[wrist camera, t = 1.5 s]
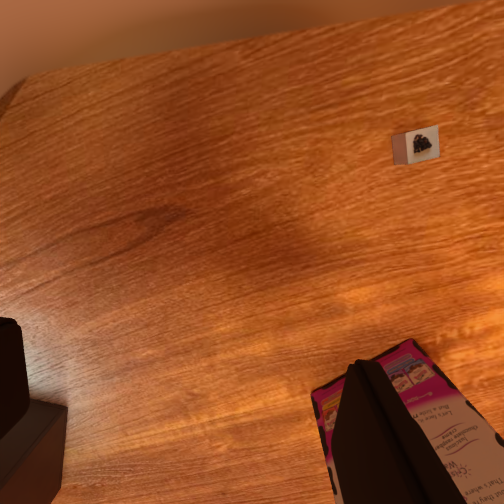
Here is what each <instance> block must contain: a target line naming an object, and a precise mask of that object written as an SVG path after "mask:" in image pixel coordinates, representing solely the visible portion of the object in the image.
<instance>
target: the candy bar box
mask: <svg viewBox="0 0 504 504" xmlns="http://www.w3.org/2000/svg"><path fill="white" fill-rule="evenodd" d="M371 361H377V362H379V363H380V364H381V366H382V367H383V369H384V371H385V372H386V374H387V376H388V377H389V379H390V381H391V382H392V384H393V386H394V387H395V389H396V391H397V392H398V394H399V396H400V397H401V399H402V401H403V402H404V404H405V406H406V408H407V409H408V411H409V413H410V414H411V416H412V418H413V419H415V420H416V421H417V423H418V424H419V425H420V427H421V428H422V430H423V432H424V433H425V435H426V436H427V438H428V440H429V441H430V443H431V445H432V446H433V448H434V450H435V451H436V453H437V455H438V456H439V458H440V460H441V461H442V463H443V464H444V466H445V468H446V469H447V471H448V473H449V474H450V476H451V478H452V479H453V481H454V483H455V484H456V486H457V488H458V489H459V491H460V493H461V494H462V496H463V497H464V499H465V501H466V502H467V504H504V440H503V439H502V437H501V436H500V435H499V434H498V433H497V432H496V431H495V430H494V429H493V428H492V426H491V425H490V424H489V423H488V422H487V421H486V420H485V418H484V417H483V416H482V415H481V414H480V413H479V412H478V411H477V410H476V408H475V407H474V406H473V405H472V404H471V403H470V402H469V401H468V400H467V399H466V398H465V396H464V395H463V394H462V393H461V392H460V391H459V390H458V389H457V387H456V386H455V385H454V384H453V383H452V382H451V381H450V379H449V378H448V377H447V376H446V375H445V374H444V373H443V372H442V371H441V369H440V368H439V367H438V366H437V365H436V364H435V363H434V362H433V361H432V360H431V359H430V357H429V356H428V355H427V354H426V353H425V351H424V350H423V349H422V348H421V347H420V346H419V345H418V344H417V343H416V342H415V341H414V340H413V339H409V340H407V341H405V342H403V343H402V344H400V345H398V346H396V347H394V348H393V349H391V350H389V351H387V352H385V353H384V354H382V355H380V356H378V357H376V358H375V359H373V360H371ZM345 377H346V375H344V376H343V377H341V378H339V379H337V380H336V381H334V382H332V383H330V384H328V385H327V386H325V387H323V388H321V389H319V390H317V391H316V392H314V393H312V394H311V399H312V404H313V409H314V413H315V417H316V421H317V426H318V430H319V434H320V438H321V443H322V447H323V451H324V455H325V461H326V465H327V469H328V472H329V477H330V481H331V485H332V489H333V494H334V499H335V503H336V504H344V503H343V499H342V495H341V490H340V486H339V482H338V478H337V473H336V469H335V465H334V461H333V457H332V452H331V438H332V433H333V429H334V424H335V420H336V416H337V412H338V407H339V403H340V399H341V394H342V390H343V386H344V382H345Z"/></svg>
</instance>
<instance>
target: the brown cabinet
mask: <svg viewBox="0 0 504 504" xmlns="http://www.w3.org/2000/svg"><path fill="white" fill-rule="evenodd" d="M67 411H68V407H65V406H61V405H56V404H52V403H47V402H43V401H38V400H34V399H30V406H29V409H28V411H27V412H26V414H25V415H24V416H23V418H22V419H21V420H20V421H19V422H18V423H17V424H16V425H15V426H14V427H13V428H12V429H11V430H10V431H9V432H8V433H7V434H6V435H5V436H4V437H3V438H2V439H1V440H0V504H51V502H52V501H53V499H54V498H55V496H56V494H57V493H58V491H59V490H60V488H61V477H62V466H63V455H64V444H65V433H66V422H67Z"/></svg>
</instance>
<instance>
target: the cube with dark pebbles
mask: <svg viewBox="0 0 504 504" xmlns="http://www.w3.org/2000/svg"><path fill="white" fill-rule="evenodd" d="M391 137H392V146H393V156H394V165H401V164H412V163H416V162H420V161H424V160H428V159H433V158H437V157H440V151H439V138H438V125H435V126H430V127H426V128H422V129H418V130H414V131H410V132H406V133H402V134H398V135H394V136H391Z"/></svg>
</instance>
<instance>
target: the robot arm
mask: <svg viewBox="0 0 504 504" xmlns="http://www.w3.org/2000/svg"><path fill="white" fill-rule="evenodd" d="M29 406H30V395H29V387H28V379H27V371H26V362H25V354H24V346H23V338H22V330H21V327H20V326H19V325H18V324H17V322H16V321H15V319H12V318H6V317H0V440H1V439H2V438H3V437H4V436H5V435H6V434H7V433H8V432H9V431H10V430H11V429H12V428H13V427H14V426H15V425H16V424H17V423H18V422H19V421H20V420H21V419H22V418H23V416H24V415H25V414H26V412H27V411H28V409H29ZM331 452H332V457H333V461H334V465H335V469H336V473H337V478H338V482H339V486H340V490H341V495H342V499H343V503H344V504H467V502H466V501H465V499H464V497H463V496H462V494H461V493H460V491H459V489H458V488H457V486H456V484H455V483H454V481H453V479H452V478H451V476H450V474H449V473H448V471H447V469H446V468H445V466H444V464H443V463H442V461H441V460H440V458H439V456H438V455H437V453H436V451H435V450H434V448H433V446H432V445H431V443H430V441H429V440H428V438H427V436H426V435H425V433H424V432H423V430H422V428H421V427H420V425H419V424H418V423H417V421H416V420H415V419H413V418H412V416H411V414H410V413H409V411H408V409H407V408H406V406H405V404H404V402H403V401H402V399H401V397H400V396H399V394H398V392H397V391H396V389H395V387H394V386H393V384H392V382H391V381H390V379H389V377H388V376H387V374H386V372H385V371H384V369H383V367H382V366H381V364H380V363H379V362H377V361H368V360H360V359H358V360H356V361H355V364H349V366H348V369H347V373H346V377H345V382H344V386H343V390H342V394H341V399H340V403H339V407H338V412H337V416H336V420H335V424H334V429H333V433H332V438H331Z"/></svg>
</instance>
